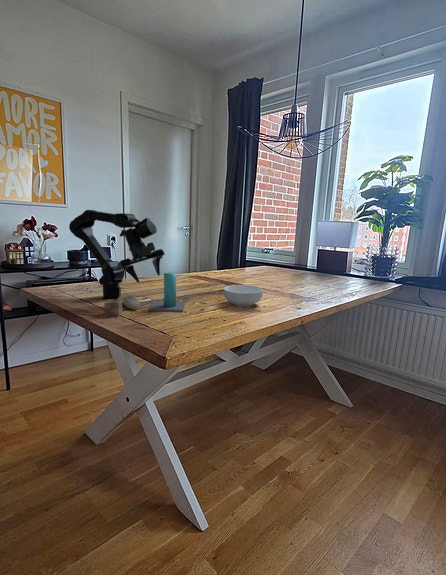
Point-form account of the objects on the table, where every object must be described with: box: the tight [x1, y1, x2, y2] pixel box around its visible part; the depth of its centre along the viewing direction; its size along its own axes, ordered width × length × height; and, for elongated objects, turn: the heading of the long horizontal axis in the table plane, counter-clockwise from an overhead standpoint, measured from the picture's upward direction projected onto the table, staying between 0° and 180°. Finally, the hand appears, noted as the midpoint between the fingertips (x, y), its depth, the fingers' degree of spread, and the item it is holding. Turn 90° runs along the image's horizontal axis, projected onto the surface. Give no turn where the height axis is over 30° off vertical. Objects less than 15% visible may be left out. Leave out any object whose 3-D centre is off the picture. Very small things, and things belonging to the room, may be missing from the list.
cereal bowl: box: [223, 284, 264, 308], centre depth 141 cm, size 17×17×7 cm
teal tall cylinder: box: [163, 272, 177, 307], centre depth 130 cm, size 5×5×13 cm
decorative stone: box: [122, 294, 141, 311], centre depth 132 cm, size 6×16×3 cm, turn 27°
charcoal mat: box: [147, 300, 186, 313], centre depth 132 cm, size 13×13×1 cm
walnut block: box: [103, 299, 123, 317], centre depth 119 cm, size 5×5×5 cm
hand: (148, 278), depth 135 cm, fingers open, 9 cm apart
